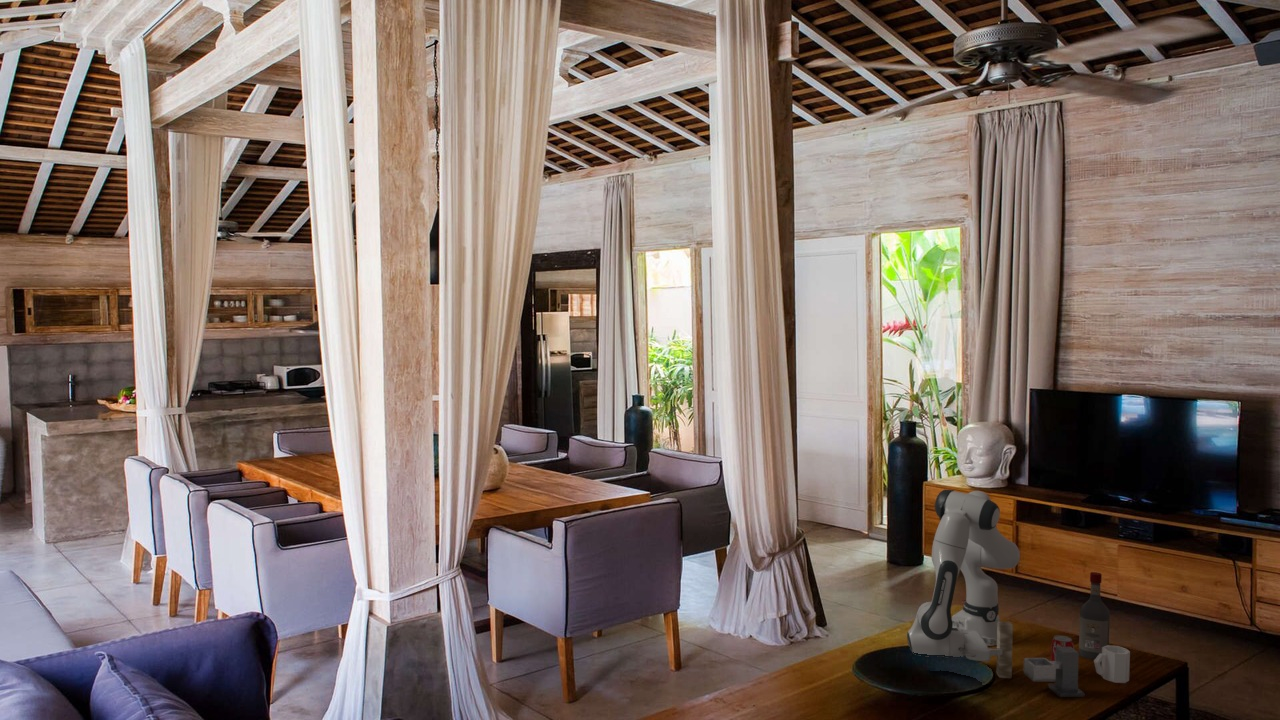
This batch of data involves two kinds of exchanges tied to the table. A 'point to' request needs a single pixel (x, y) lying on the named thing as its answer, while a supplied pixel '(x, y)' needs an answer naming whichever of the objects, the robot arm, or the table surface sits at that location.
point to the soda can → (1060, 644)
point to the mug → (1113, 664)
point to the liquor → (1093, 622)
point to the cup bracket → (1056, 672)
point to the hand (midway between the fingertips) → (998, 646)
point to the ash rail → (1004, 649)
